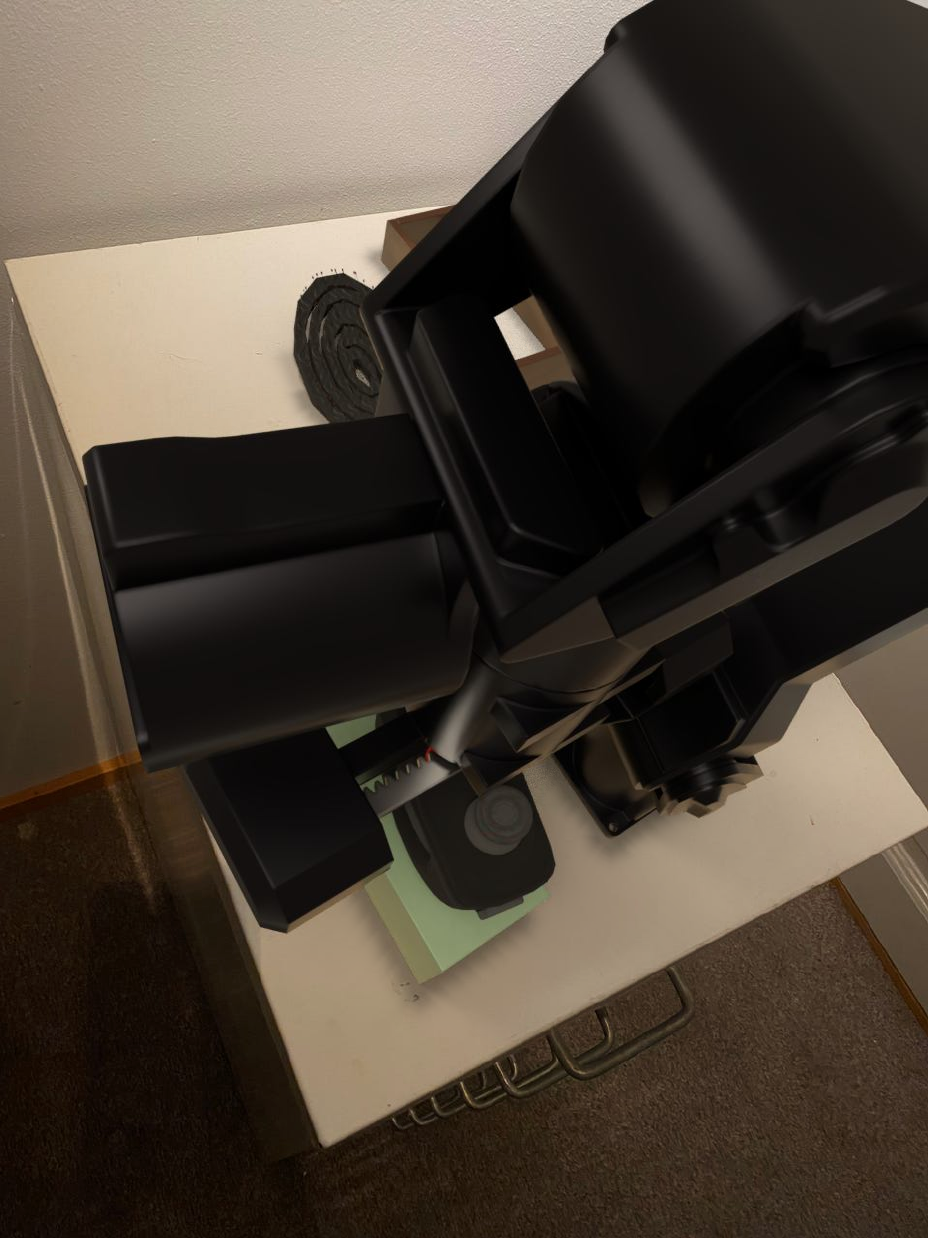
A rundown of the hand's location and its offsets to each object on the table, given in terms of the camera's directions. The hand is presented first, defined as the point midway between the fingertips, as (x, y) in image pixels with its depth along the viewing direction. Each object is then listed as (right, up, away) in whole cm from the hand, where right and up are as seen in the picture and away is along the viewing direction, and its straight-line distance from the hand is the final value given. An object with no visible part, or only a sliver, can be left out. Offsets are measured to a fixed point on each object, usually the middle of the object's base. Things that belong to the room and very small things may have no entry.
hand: (436, 774), depth 35 cm
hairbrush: (-4, +18, +21) cm, 28 cm away
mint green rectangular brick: (-2, -5, +9) cm, 10 cm away
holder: (+2, +30, +28) cm, 41 cm away
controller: (-1, -2, +4) cm, 5 cm away
